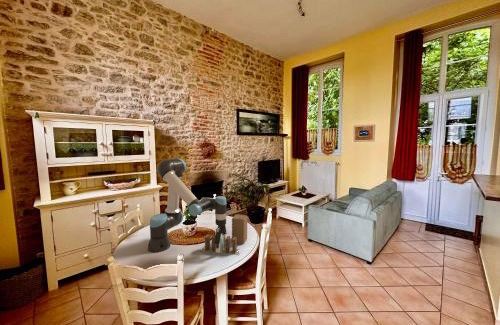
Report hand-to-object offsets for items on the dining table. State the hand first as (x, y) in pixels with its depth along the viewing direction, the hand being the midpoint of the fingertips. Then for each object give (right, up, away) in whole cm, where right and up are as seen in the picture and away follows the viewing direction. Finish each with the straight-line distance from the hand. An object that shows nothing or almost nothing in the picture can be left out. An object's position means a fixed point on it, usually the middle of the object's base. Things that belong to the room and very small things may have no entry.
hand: (220, 247), depth 151 cm
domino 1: (-10, -2, +2) cm, 10 cm away
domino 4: (+10, -3, -1) cm, 10 cm away
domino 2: (-5, -2, +1) cm, 5 cm away
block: (+13, -2, +15) cm, 20 cm away
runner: (0, -3, 0) cm, 3 cm away
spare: (0, -2, 0) cm, 2 cm away
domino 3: (+5, -2, -1) cm, 6 cm away
